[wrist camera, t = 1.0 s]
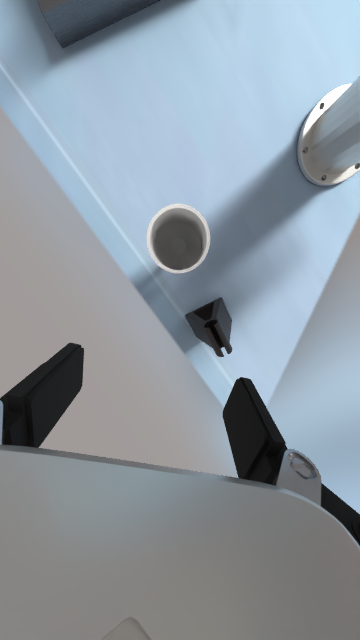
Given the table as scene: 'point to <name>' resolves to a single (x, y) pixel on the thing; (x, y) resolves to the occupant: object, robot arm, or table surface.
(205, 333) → the phone stand
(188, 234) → the champagne flute
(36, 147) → the table surface
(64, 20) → the block
